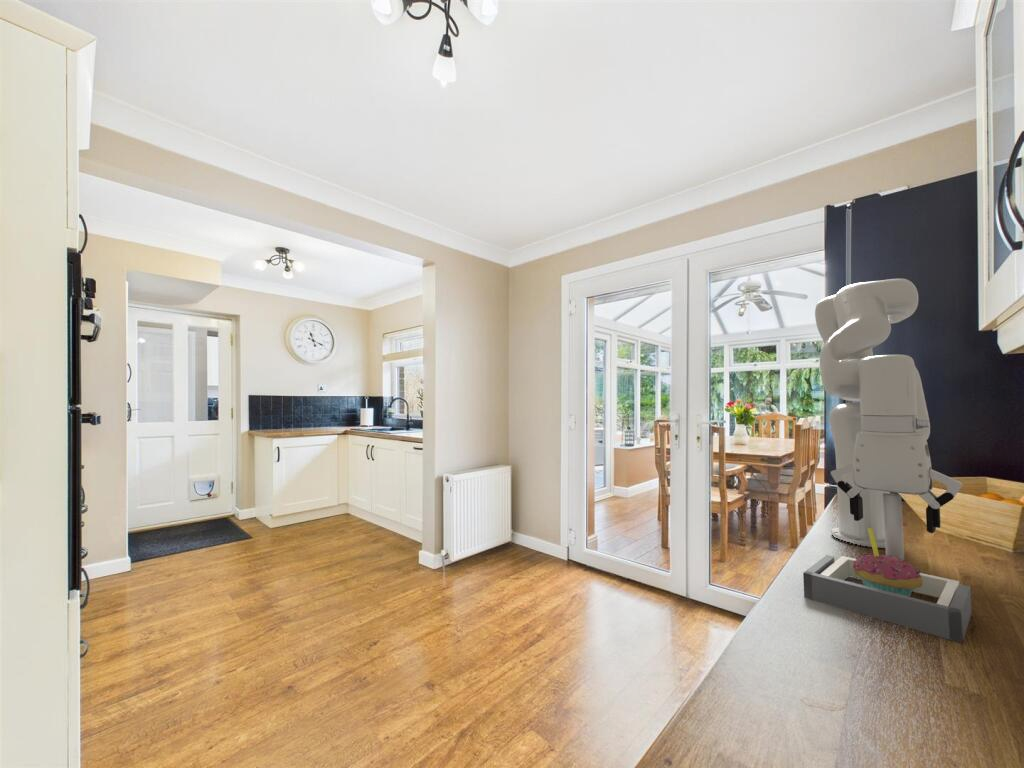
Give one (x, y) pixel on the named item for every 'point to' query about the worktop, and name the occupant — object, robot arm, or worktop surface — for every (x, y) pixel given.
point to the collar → (897, 555)
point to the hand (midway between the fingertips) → (893, 525)
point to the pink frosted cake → (886, 571)
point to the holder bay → (890, 603)
